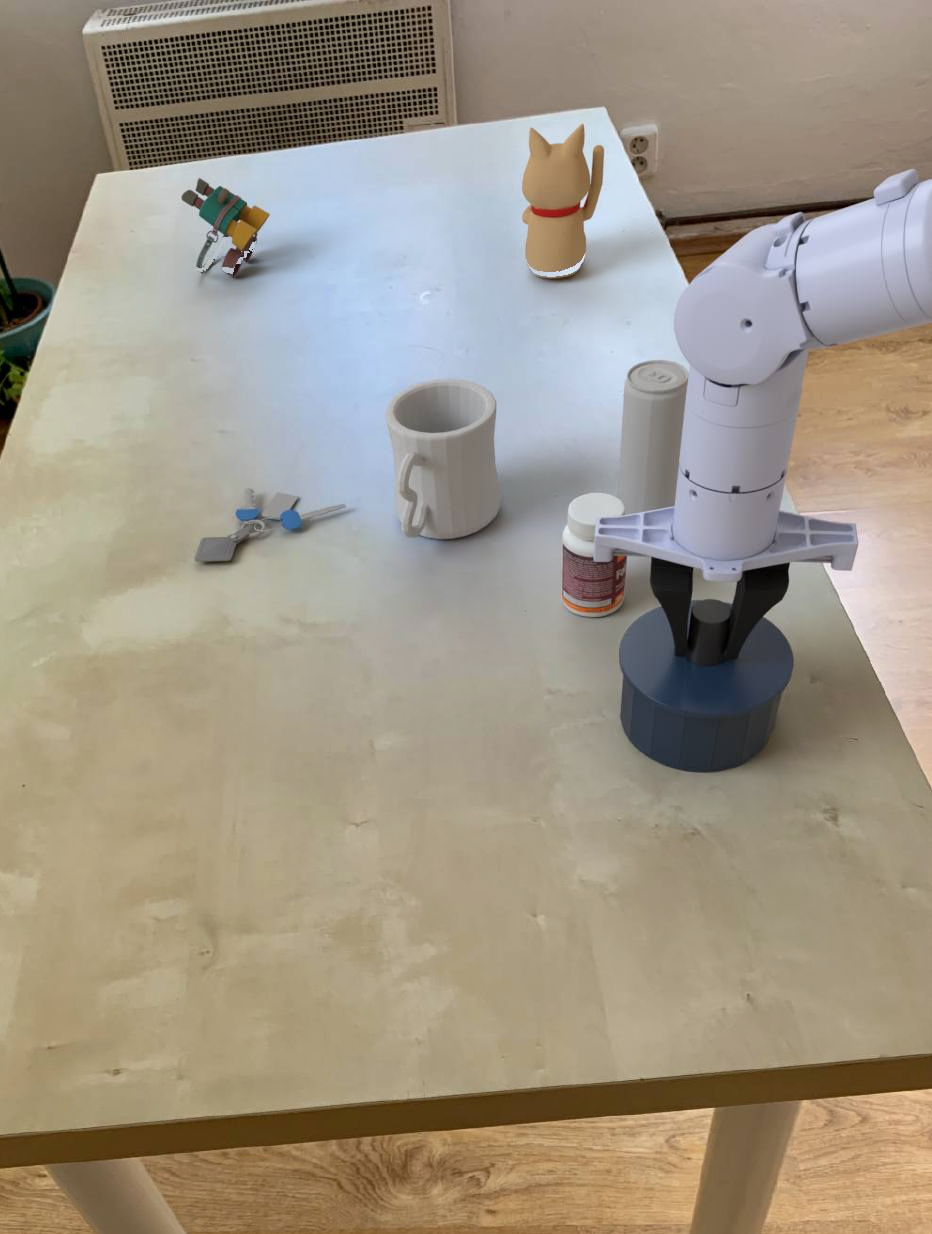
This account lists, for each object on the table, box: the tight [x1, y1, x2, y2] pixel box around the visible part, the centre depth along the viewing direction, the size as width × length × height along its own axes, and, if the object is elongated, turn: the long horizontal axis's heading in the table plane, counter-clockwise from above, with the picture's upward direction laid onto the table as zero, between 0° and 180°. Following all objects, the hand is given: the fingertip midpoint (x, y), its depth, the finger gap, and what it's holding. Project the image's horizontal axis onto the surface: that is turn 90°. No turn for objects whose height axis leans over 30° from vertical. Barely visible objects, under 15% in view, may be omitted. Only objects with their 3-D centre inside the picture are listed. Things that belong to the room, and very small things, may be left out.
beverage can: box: [617, 359, 689, 515], centre depth 87 cm, size 5×5×12 cm
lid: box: [618, 598, 795, 719], centre depth 69 cm, size 11×11×5 cm
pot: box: [619, 675, 783, 773], centre depth 73 cm, size 10×10×5 cm
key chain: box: [194, 487, 347, 563], centre depth 96 cm, size 14×8×1 cm, turn 121°
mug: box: [384, 378, 502, 540], centre depth 89 cm, size 12×9×10 cm
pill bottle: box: [560, 492, 628, 618], centre depth 81 cm, size 5×5×8 cm
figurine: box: [521, 123, 605, 279], centre depth 117 cm, size 9×10×15 cm
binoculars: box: [181, 177, 271, 279], centre depth 130 cm, size 9×9×10 cm
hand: (705, 647), depth 70 cm, fingers closed on lid, 2 cm apart
